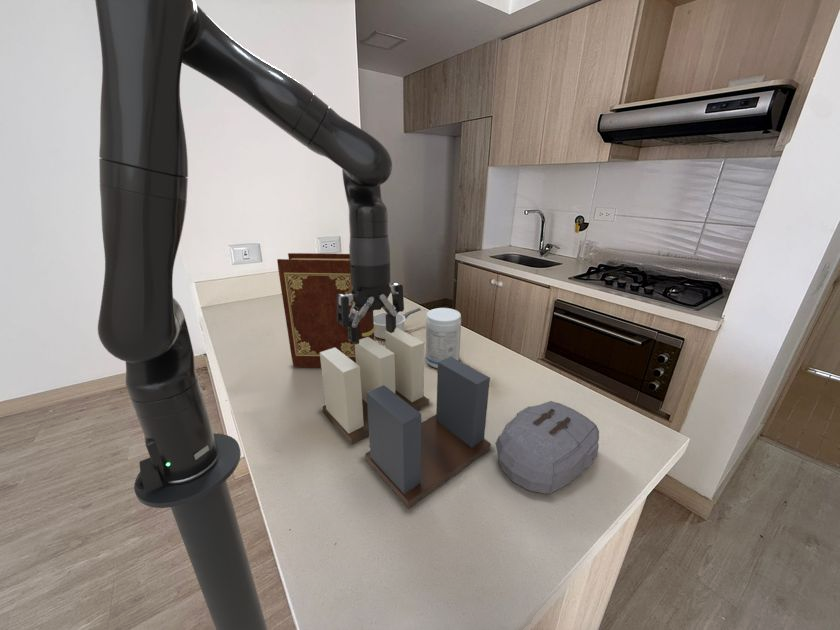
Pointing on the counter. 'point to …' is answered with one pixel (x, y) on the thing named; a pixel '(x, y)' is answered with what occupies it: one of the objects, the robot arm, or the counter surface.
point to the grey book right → (462, 400)
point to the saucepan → (381, 322)
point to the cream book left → (342, 389)
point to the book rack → (424, 452)
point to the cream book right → (407, 363)
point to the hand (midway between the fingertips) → (373, 337)
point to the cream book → (374, 366)
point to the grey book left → (395, 437)
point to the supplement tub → (442, 335)
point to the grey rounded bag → (547, 446)
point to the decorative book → (318, 306)
